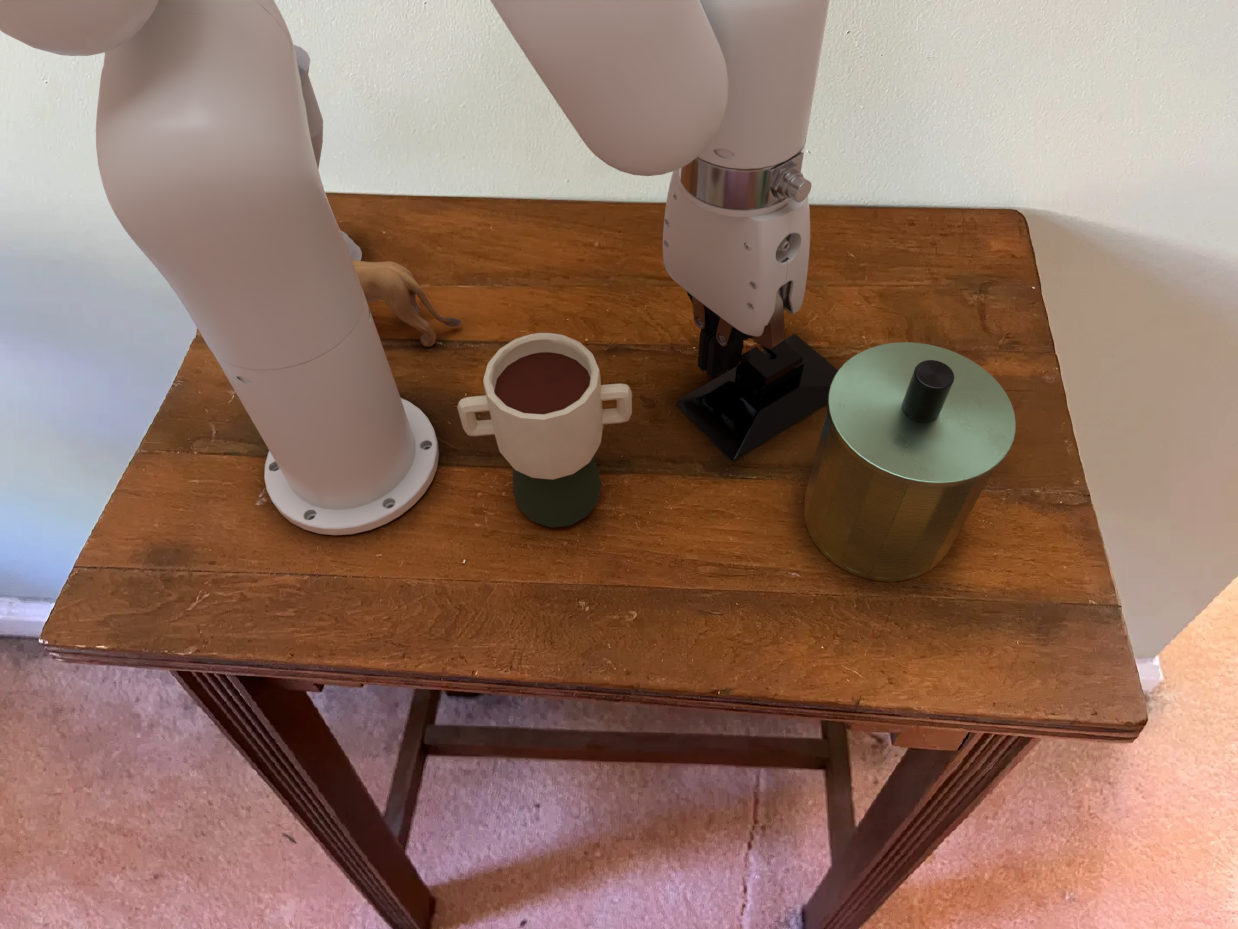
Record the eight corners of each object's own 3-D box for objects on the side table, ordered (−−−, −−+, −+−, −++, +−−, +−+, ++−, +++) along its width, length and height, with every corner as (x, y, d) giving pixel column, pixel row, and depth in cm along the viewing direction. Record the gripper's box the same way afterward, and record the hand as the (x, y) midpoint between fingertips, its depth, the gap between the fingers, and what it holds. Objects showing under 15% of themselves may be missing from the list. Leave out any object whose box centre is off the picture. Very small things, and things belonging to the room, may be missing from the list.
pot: (773, 510, 61) (796, 405, 52) (869, 437, 65) (907, 327, 56) (885, 610, 57) (932, 514, 47) (982, 525, 60) (1043, 420, 51)
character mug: (628, 449, 65) (625, 324, 54) (638, 529, 61) (637, 410, 50) (482, 462, 64) (451, 339, 54) (483, 544, 60) (449, 428, 50)
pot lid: (787, 411, 53) (797, 365, 49) (904, 329, 56) (920, 281, 53) (930, 527, 48) (951, 484, 44) (1047, 427, 51) (1075, 381, 48)
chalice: (362, 285, 76) (296, 94, 62) (286, 285, 77) (203, 95, 62) (378, 232, 81) (320, 41, 66) (306, 232, 81) (232, 42, 66)
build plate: (794, 337, 72) (802, 294, 68) (856, 391, 68) (869, 349, 64) (674, 404, 67) (676, 362, 64) (734, 465, 64) (741, 425, 60)
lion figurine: (282, 347, 72) (241, 263, 65) (299, 302, 75) (262, 217, 68) (457, 349, 71) (435, 264, 64) (466, 304, 75) (447, 218, 67)
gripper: (875, 190, 51) (823, 395, 66) (701, 87, 58) (689, 293, 73) (786, 246, 48) (753, 446, 63) (614, 130, 55) (621, 335, 70)
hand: (719, 364), depth 68 cm, fingers closed
